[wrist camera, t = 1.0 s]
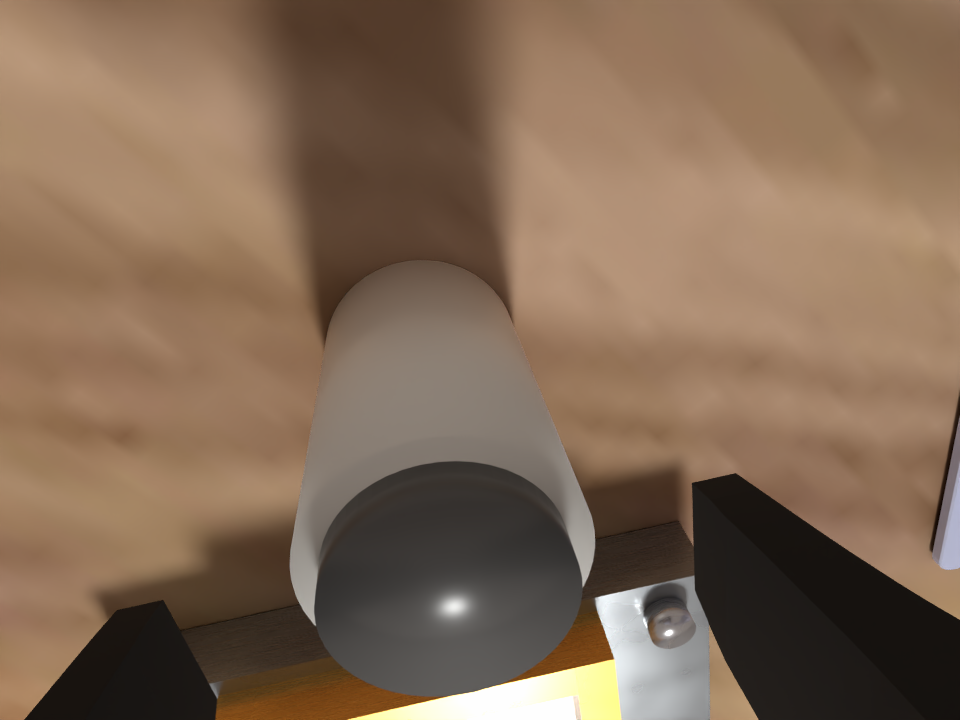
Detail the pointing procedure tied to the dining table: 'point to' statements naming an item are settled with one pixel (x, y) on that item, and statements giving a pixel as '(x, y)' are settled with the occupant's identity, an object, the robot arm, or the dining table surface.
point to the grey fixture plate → (522, 700)
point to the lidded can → (435, 492)
